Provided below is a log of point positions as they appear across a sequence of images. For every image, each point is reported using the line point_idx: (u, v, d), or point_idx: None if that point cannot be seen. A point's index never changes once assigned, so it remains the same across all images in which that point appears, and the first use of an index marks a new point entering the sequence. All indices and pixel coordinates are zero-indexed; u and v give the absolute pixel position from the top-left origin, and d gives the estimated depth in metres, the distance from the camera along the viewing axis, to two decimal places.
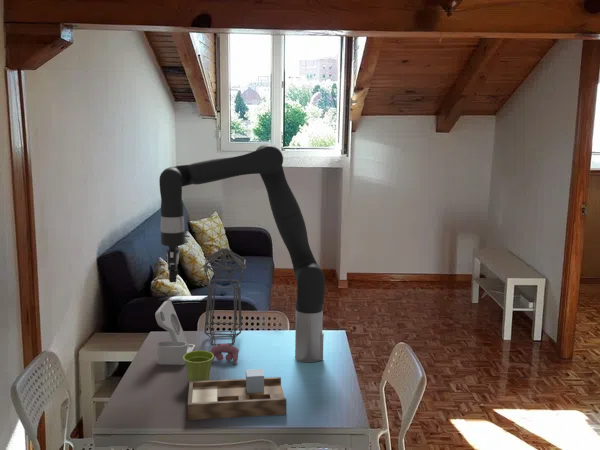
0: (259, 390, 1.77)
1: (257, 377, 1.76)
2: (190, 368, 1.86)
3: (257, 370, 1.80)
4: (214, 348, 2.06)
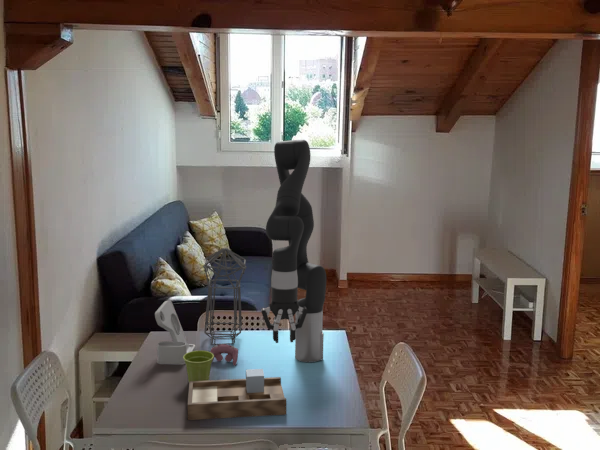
0: (259, 390, 1.77)
1: (257, 377, 1.76)
2: (190, 368, 1.86)
3: (257, 370, 1.80)
4: (214, 349, 2.05)
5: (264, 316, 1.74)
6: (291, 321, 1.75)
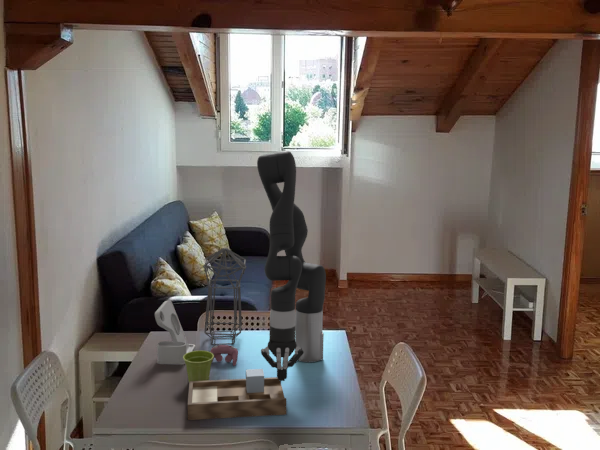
0: (259, 390, 1.77)
1: (257, 377, 1.76)
2: (190, 368, 1.86)
3: (257, 370, 1.80)
4: (213, 349, 2.05)
5: (265, 357, 1.77)
6: (285, 360, 1.77)
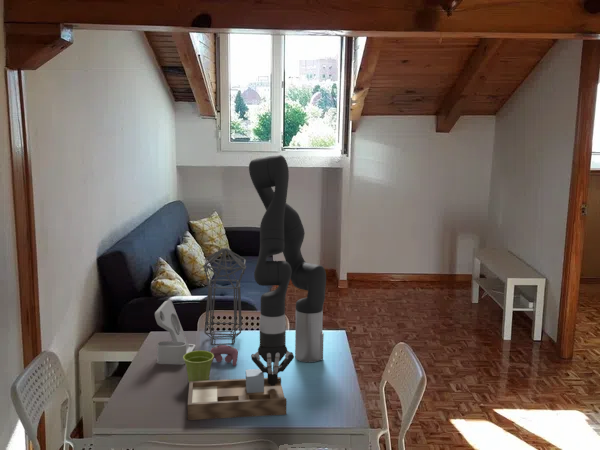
0: (259, 390, 1.77)
1: (257, 377, 1.76)
2: (190, 368, 1.86)
3: (257, 370, 1.80)
4: (213, 350, 2.05)
5: (255, 362, 1.76)
6: (276, 365, 1.77)
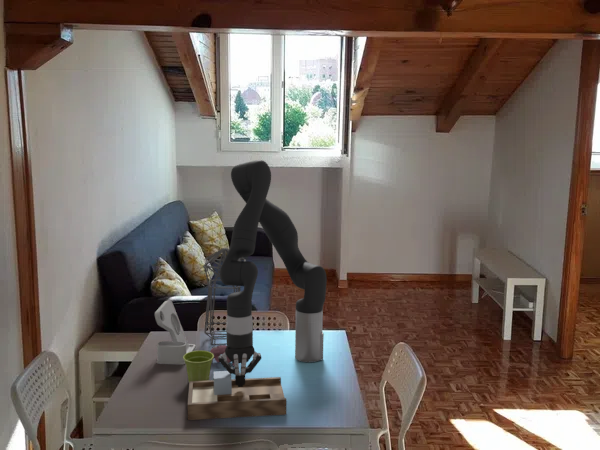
0: (226, 392, 1.75)
1: (224, 379, 1.74)
2: (190, 368, 1.86)
3: (225, 372, 1.78)
4: (213, 350, 2.04)
5: (222, 363, 1.74)
6: (243, 366, 1.75)
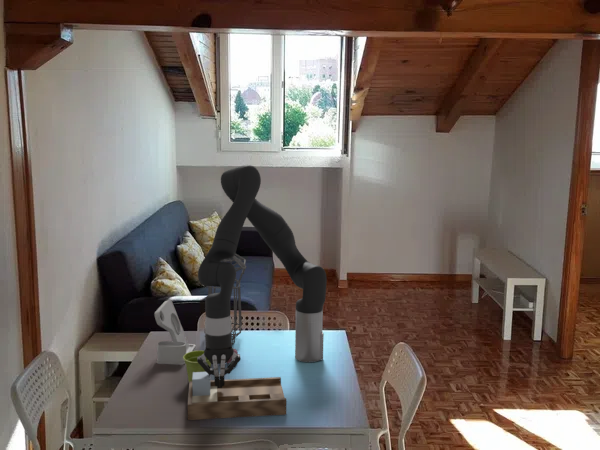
0: (205, 393, 1.74)
1: (203, 380, 1.73)
2: (190, 368, 1.86)
3: (204, 373, 1.77)
4: None
5: (201, 364, 1.74)
6: (222, 367, 1.74)
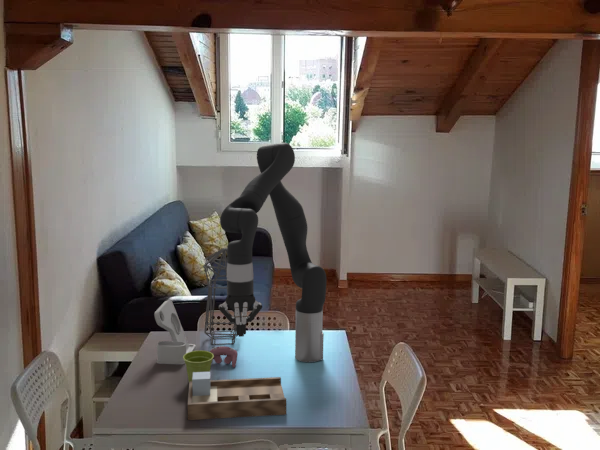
0: (205, 393, 1.74)
1: (203, 380, 1.73)
2: (190, 368, 1.86)
3: (204, 373, 1.77)
4: (212, 351, 2.04)
5: (223, 312, 1.73)
6: (244, 314, 1.74)
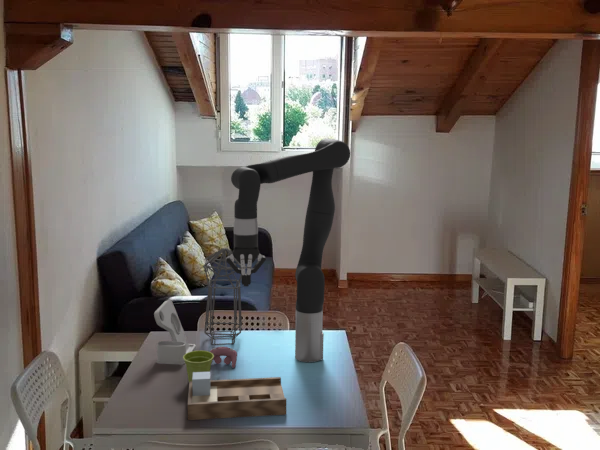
0: (205, 393, 1.74)
1: (203, 380, 1.73)
2: (190, 368, 1.86)
3: (204, 373, 1.77)
4: (212, 351, 2.03)
5: (230, 263, 1.90)
6: (248, 266, 1.90)
